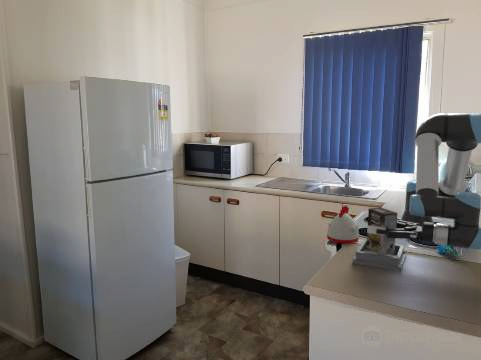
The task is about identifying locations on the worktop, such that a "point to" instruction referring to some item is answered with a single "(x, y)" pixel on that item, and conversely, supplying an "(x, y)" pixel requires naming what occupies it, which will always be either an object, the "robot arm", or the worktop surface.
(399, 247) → the housing
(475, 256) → the worktop surface
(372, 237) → the coffee box
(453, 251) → the gear
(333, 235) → the kitchen timer
